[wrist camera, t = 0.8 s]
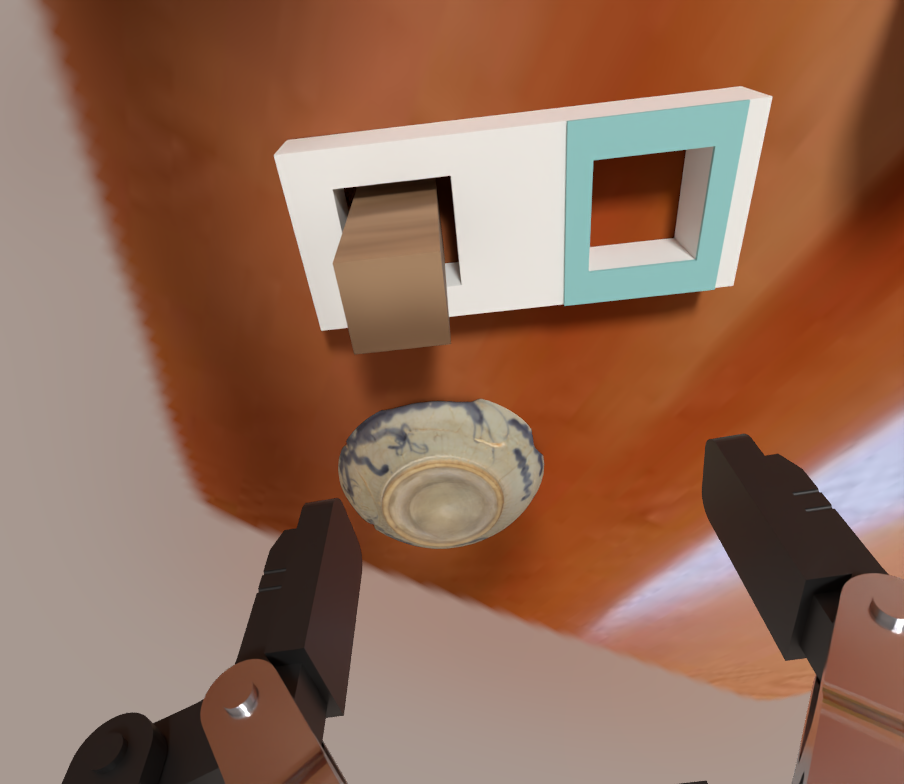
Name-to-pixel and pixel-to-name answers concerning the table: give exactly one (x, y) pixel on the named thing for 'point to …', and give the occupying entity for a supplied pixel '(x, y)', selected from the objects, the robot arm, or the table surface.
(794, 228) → the table surface
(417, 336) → the walnut peg
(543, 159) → the socket rail
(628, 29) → the table surface
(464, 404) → the decorative bowl
